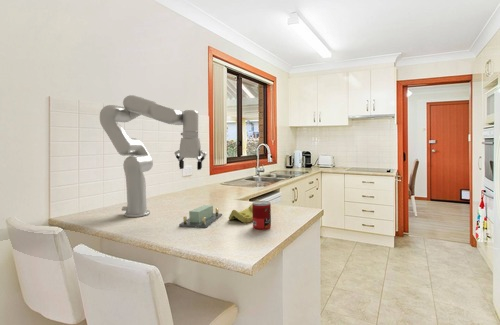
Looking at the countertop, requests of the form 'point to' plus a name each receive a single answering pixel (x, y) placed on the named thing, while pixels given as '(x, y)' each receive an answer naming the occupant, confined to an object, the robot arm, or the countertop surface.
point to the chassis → (203, 224)
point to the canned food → (261, 215)
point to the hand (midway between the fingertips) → (190, 169)
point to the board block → (201, 213)
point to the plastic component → (243, 215)
